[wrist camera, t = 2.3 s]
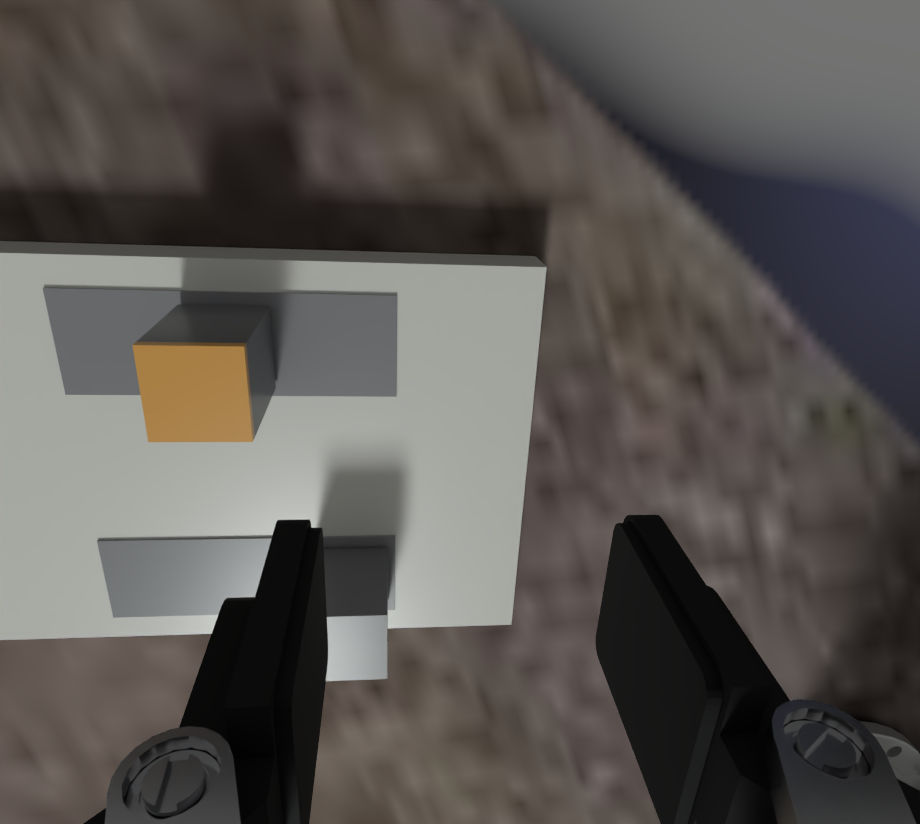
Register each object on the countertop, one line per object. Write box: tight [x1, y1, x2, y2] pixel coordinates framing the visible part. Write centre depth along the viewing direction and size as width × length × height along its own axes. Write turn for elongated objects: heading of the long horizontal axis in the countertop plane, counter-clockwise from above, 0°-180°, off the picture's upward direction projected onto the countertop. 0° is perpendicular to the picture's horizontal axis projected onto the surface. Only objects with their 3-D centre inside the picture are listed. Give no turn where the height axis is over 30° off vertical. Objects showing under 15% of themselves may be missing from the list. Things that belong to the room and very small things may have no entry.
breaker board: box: [0, 241, 547, 640], centre depth 26 cm, size 22×16×2 cm
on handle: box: [324, 548, 388, 681], centre depth 26 cm, size 3×3×4 cm
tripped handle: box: [132, 304, 276, 442], centre depth 21 cm, size 3×3×4 cm
